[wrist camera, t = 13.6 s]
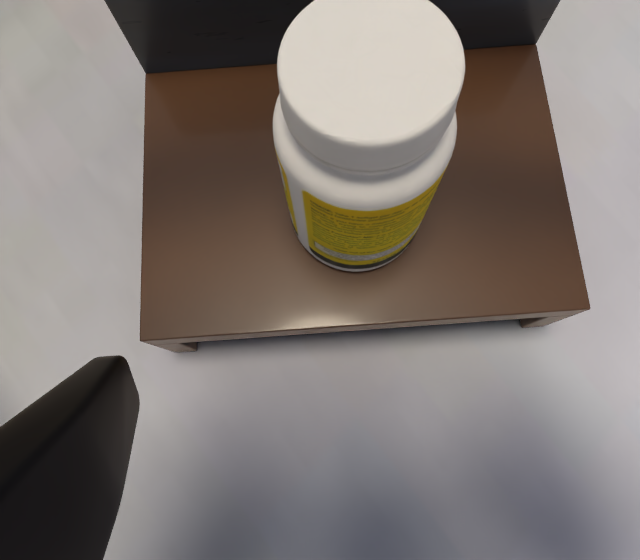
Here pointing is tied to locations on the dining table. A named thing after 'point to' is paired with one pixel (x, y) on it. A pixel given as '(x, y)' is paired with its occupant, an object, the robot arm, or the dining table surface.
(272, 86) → the shelf
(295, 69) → the supplement bottle
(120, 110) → the dining table surface
